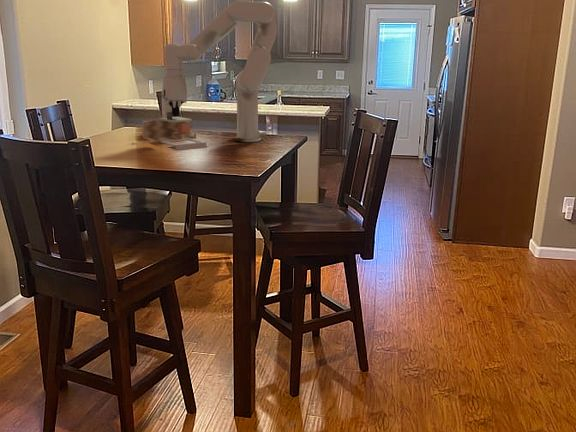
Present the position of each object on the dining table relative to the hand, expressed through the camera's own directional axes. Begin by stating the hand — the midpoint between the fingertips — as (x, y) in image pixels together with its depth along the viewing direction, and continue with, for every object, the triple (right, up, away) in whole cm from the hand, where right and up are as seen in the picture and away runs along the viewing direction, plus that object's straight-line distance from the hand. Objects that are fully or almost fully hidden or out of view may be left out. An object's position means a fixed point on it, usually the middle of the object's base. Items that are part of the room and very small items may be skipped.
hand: (175, 116), depth 247 cm
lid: (-1, -1, +2) cm, 2 cm away
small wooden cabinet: (-2, -11, +3) cm, 11 cm away
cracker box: (-6, -6, +20) cm, 22 cm away
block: (+3, -9, +4) cm, 10 cm away
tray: (+5, -15, -11) cm, 19 cm away
